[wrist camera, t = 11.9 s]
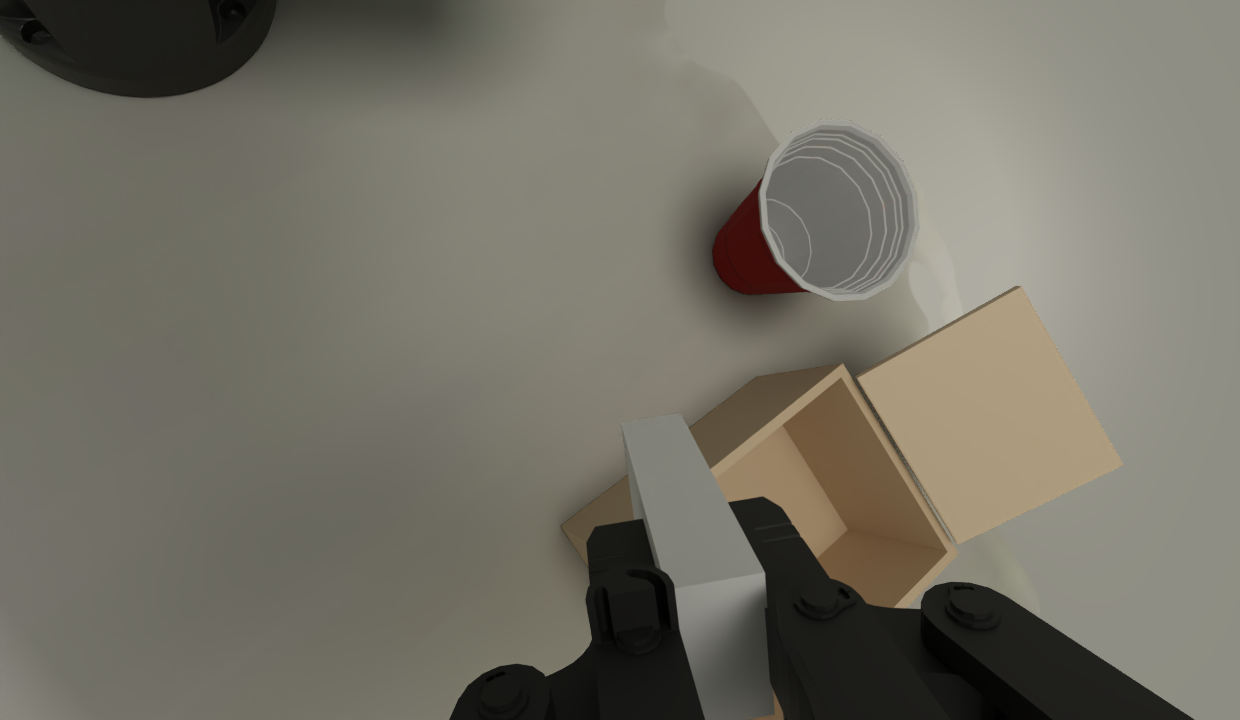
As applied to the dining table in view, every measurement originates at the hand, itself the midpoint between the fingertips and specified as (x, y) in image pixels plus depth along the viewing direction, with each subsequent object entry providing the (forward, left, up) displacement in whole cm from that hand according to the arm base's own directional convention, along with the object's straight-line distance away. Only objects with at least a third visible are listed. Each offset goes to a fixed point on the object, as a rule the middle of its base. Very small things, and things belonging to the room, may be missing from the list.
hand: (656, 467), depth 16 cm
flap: (+8, +21, -16) cm, 28 cm away
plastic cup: (-7, +21, -27) cm, 35 cm away
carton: (+11, +12, -27) cm, 31 cm away
